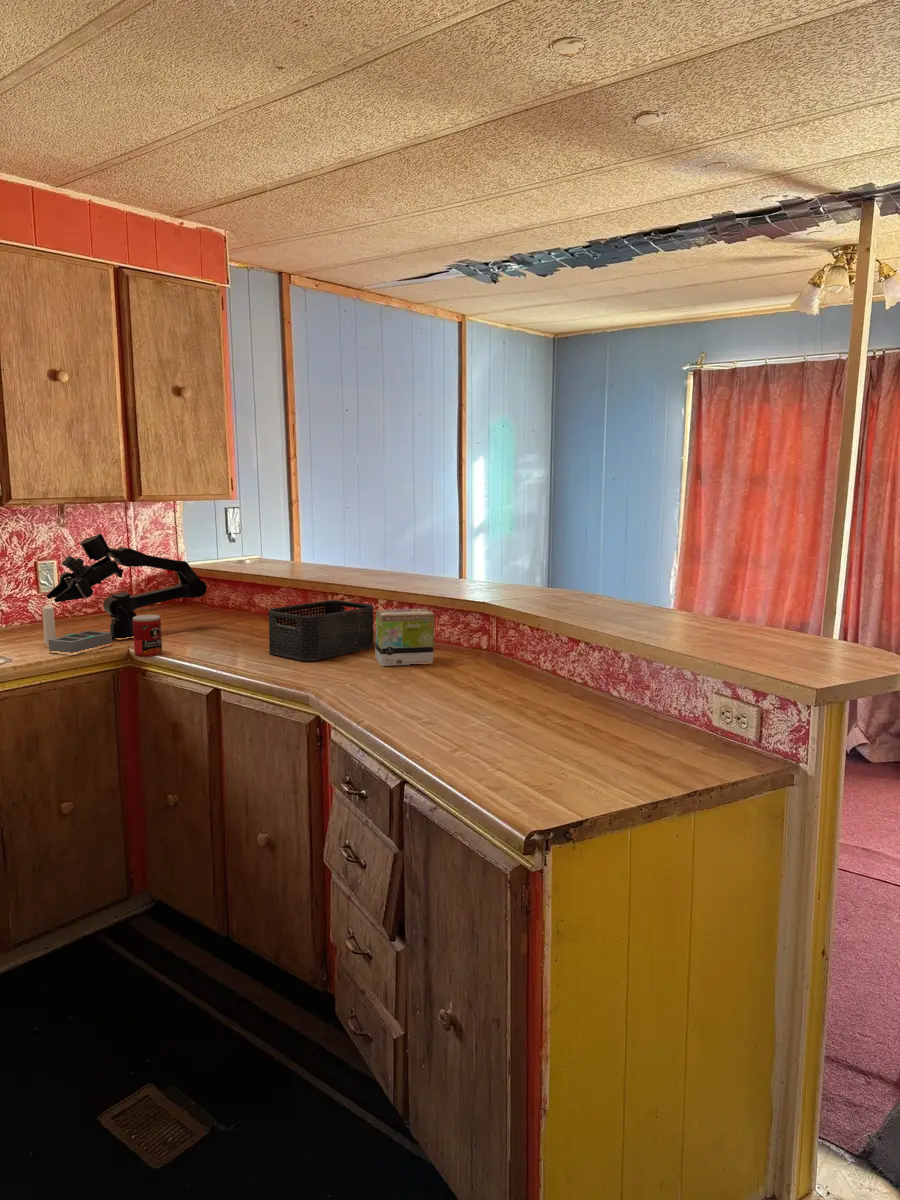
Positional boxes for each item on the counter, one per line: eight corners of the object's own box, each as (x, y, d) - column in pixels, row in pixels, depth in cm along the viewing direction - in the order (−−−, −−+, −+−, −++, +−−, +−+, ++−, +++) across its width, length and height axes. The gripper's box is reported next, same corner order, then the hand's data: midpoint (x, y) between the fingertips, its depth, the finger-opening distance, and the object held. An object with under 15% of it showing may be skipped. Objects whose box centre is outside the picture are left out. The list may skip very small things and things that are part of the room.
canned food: (144, 658, 239) (142, 620, 237) (128, 654, 244) (126, 617, 242) (167, 653, 245) (166, 616, 243) (152, 649, 250) (150, 613, 248)
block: (53, 644, 256) (51, 605, 254) (56, 647, 252) (53, 608, 250) (44, 645, 255) (42, 606, 253) (47, 648, 251) (44, 608, 249)
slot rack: (89, 643, 258) (88, 629, 257) (111, 645, 255) (111, 632, 254) (49, 653, 244) (48, 639, 243) (72, 655, 241) (71, 641, 240)
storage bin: (334, 639, 267) (333, 598, 265) (378, 647, 256) (378, 604, 253) (264, 654, 245) (263, 609, 243) (309, 664, 233) (308, 617, 231)
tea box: (381, 667, 229) (381, 615, 227) (375, 659, 239) (374, 609, 237) (434, 664, 233) (434, 612, 231) (425, 656, 243) (426, 606, 241)
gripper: (75, 547, 261) (28, 573, 254) (92, 552, 247) (43, 579, 239) (94, 577, 266) (48, 603, 259) (112, 584, 252) (64, 611, 244)
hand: (50, 599), depth 250 cm, fingers open, 9 cm apart
